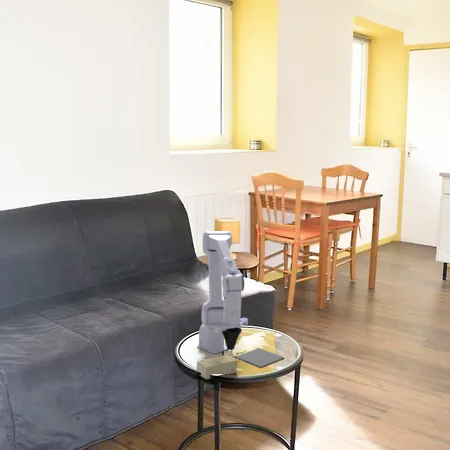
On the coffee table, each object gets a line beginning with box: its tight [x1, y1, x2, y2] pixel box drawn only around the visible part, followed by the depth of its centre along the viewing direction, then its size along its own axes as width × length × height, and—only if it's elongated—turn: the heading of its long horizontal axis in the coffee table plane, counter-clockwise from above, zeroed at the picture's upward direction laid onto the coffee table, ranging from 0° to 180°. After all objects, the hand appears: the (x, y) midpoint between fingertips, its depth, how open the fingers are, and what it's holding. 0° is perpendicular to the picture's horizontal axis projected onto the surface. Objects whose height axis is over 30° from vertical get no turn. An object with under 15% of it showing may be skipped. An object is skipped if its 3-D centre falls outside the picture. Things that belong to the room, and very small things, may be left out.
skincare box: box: [196, 354, 238, 380], centre depth 191 cm, size 6×4×12 cm
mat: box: [234, 347, 285, 369], centre depth 206 cm, size 12×13×1 cm
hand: (230, 349), depth 191 cm, fingers closed
